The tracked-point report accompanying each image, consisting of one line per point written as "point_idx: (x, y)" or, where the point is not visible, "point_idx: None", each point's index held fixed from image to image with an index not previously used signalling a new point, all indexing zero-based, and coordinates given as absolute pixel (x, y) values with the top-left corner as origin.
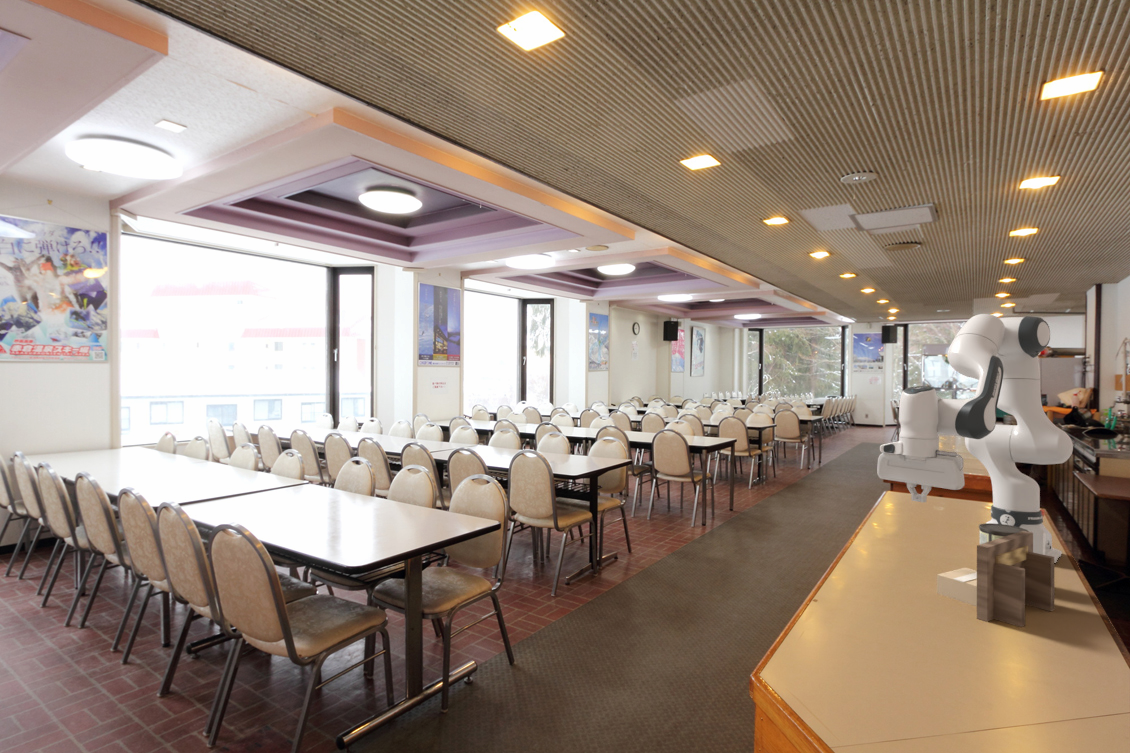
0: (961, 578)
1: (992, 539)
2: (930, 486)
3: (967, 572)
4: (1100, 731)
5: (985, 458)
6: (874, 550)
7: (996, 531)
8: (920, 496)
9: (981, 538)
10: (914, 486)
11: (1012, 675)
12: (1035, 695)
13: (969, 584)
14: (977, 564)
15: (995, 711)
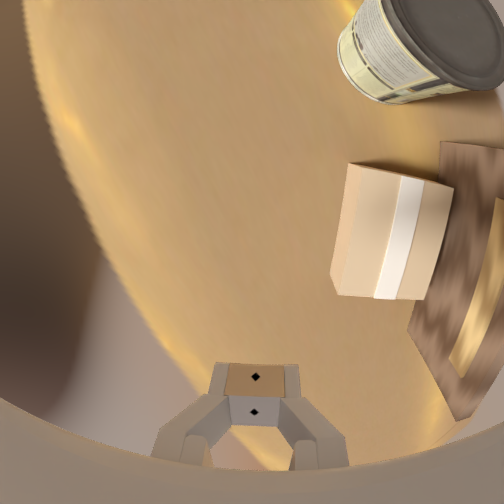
0: (386, 282)
1: (442, 87)
2: (344, 463)
3: (381, 212)
4: (465, 421)
5: None
6: (80, 89)
7: (471, 88)
8: (278, 420)
9: (396, 57)
10: (210, 455)
11: (434, 413)
12: (443, 421)
13: (403, 298)
14: (443, 393)
15: (418, 448)
